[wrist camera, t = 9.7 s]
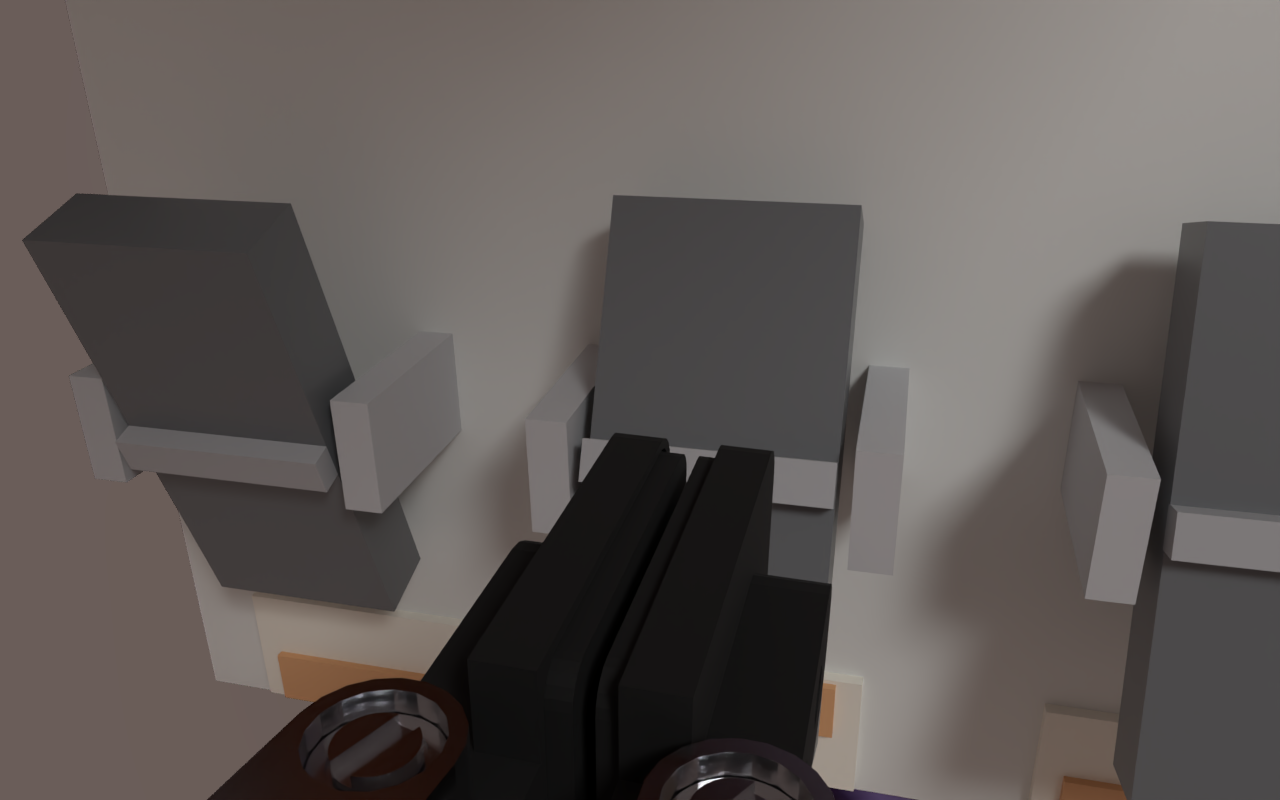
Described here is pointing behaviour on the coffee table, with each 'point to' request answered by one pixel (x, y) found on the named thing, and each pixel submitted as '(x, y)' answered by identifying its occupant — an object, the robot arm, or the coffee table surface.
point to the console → (755, 171)
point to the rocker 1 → (226, 385)
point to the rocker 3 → (1212, 536)
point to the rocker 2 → (736, 348)
